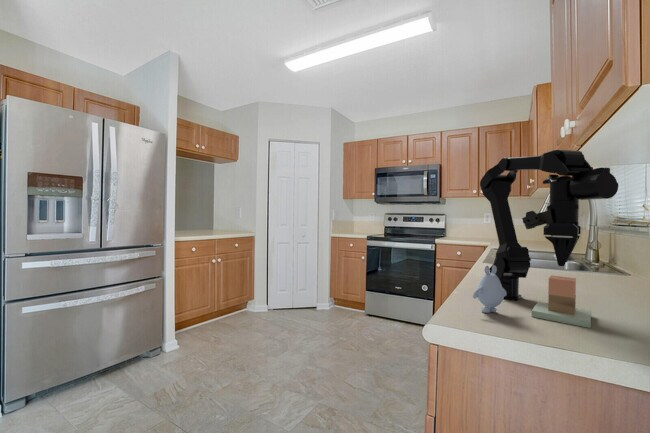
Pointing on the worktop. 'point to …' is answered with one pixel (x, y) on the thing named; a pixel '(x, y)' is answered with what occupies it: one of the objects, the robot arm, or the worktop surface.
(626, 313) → the worktop surface
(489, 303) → the toy figure
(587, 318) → the base plate
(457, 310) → the worktop surface
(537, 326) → the worktop surface
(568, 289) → the terracotta brick
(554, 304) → the walnut brick
